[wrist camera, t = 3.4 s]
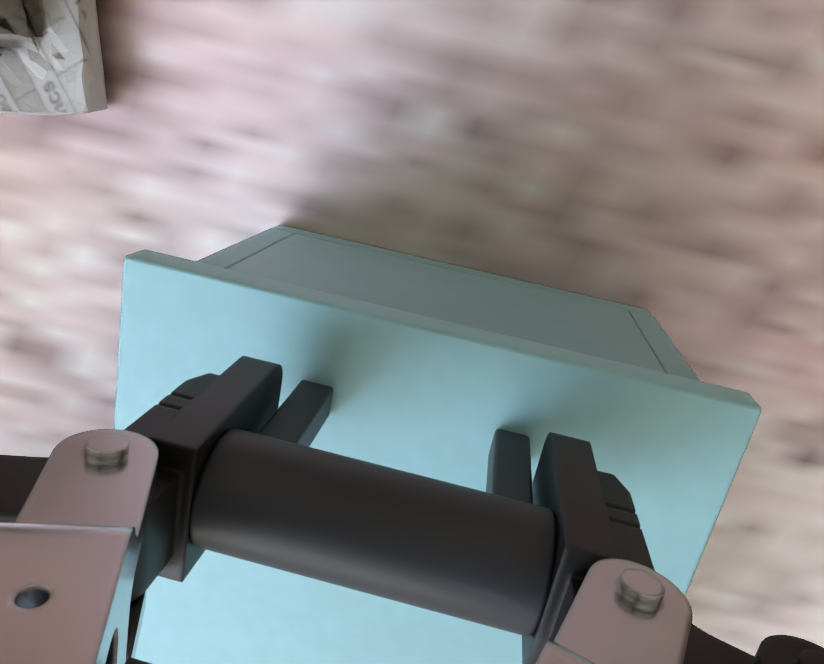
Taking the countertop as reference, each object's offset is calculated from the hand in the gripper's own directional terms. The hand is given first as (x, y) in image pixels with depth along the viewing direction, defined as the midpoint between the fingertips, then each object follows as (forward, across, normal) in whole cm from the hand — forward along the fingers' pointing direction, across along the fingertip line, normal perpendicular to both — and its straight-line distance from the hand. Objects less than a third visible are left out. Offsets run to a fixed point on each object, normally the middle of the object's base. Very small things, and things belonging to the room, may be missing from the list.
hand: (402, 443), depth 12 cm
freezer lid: (+2, 0, +6) cm, 6 cm away
